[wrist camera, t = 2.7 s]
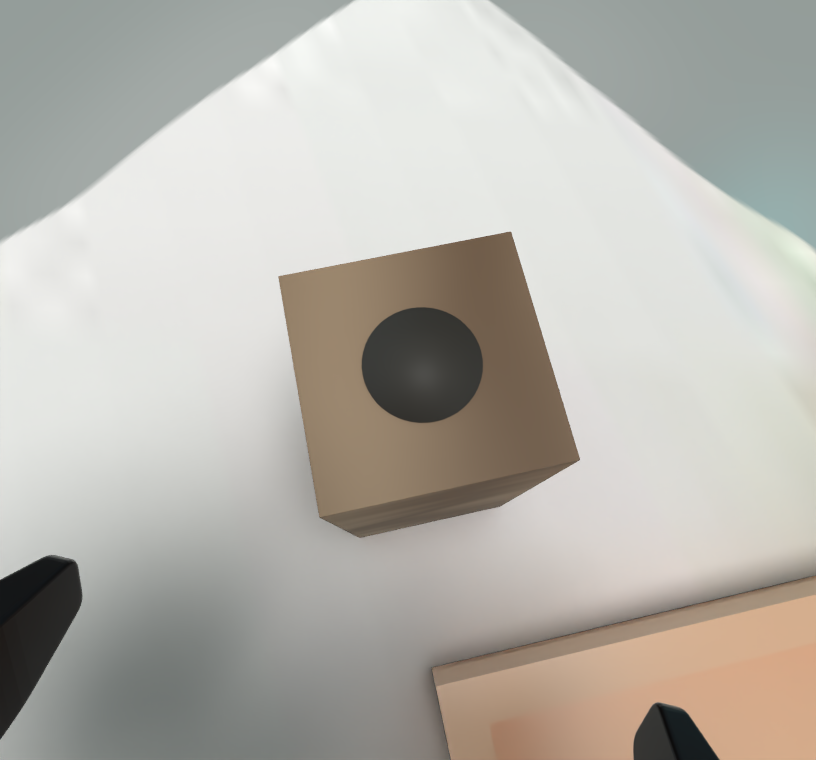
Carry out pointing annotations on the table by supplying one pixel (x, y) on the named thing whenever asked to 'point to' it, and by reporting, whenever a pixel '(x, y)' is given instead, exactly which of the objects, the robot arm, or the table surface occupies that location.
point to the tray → (647, 684)
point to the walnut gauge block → (423, 385)
